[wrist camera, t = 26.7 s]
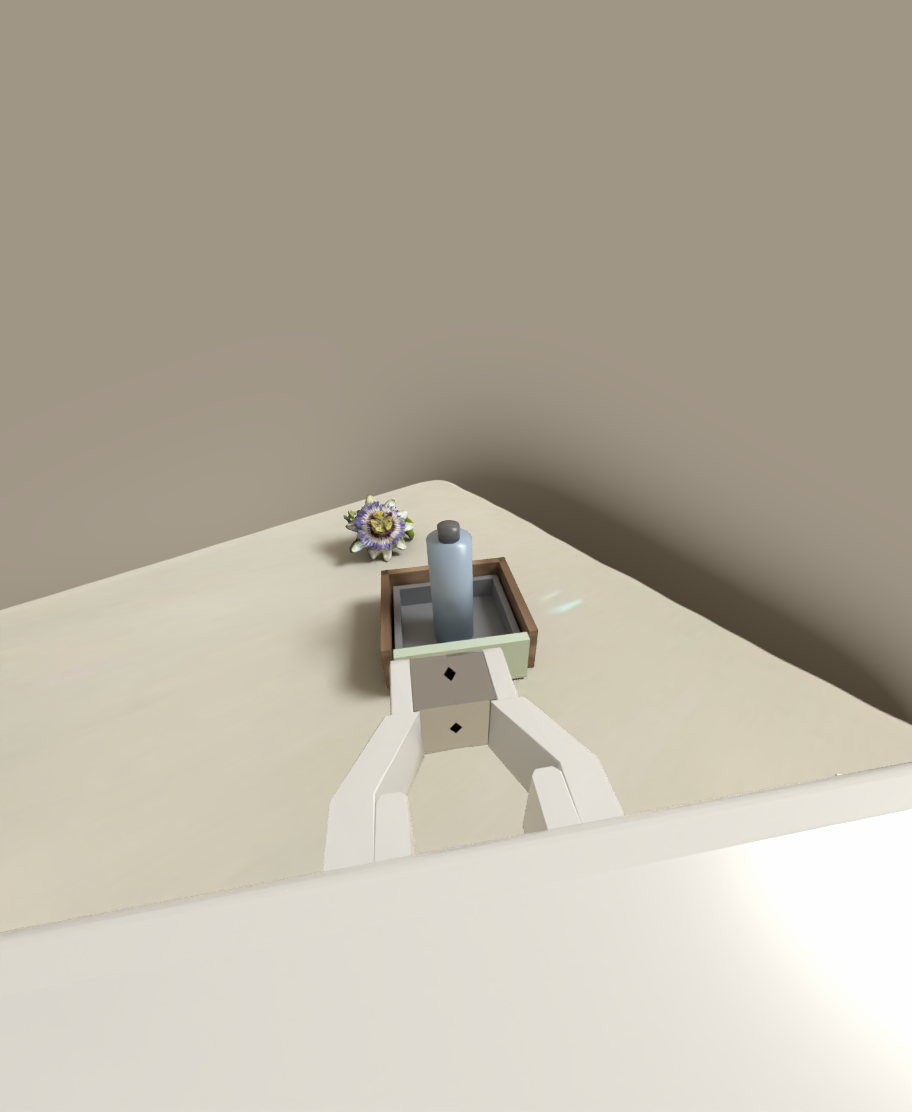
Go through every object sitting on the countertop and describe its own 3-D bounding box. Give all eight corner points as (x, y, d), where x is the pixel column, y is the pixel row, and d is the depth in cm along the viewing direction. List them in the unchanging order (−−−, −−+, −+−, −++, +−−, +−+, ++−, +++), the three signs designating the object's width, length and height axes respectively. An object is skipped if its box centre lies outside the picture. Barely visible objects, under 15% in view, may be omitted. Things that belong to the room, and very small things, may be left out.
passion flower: (391, 584, 71) (350, 557, 61) (363, 549, 77) (322, 520, 67) (435, 539, 71) (402, 505, 61) (404, 508, 77) (369, 473, 67)
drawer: (399, 695, 44) (393, 658, 41) (396, 608, 57) (391, 574, 53) (526, 677, 46) (530, 639, 42) (496, 596, 58) (497, 562, 55)
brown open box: (387, 688, 45) (380, 651, 42) (386, 604, 58) (381, 570, 55) (533, 666, 47) (538, 630, 44) (502, 590, 60) (504, 557, 56)
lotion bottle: (437, 649, 48) (427, 539, 40) (432, 622, 53) (422, 517, 44) (477, 643, 49) (476, 533, 41) (469, 616, 53) (466, 512, 45)
